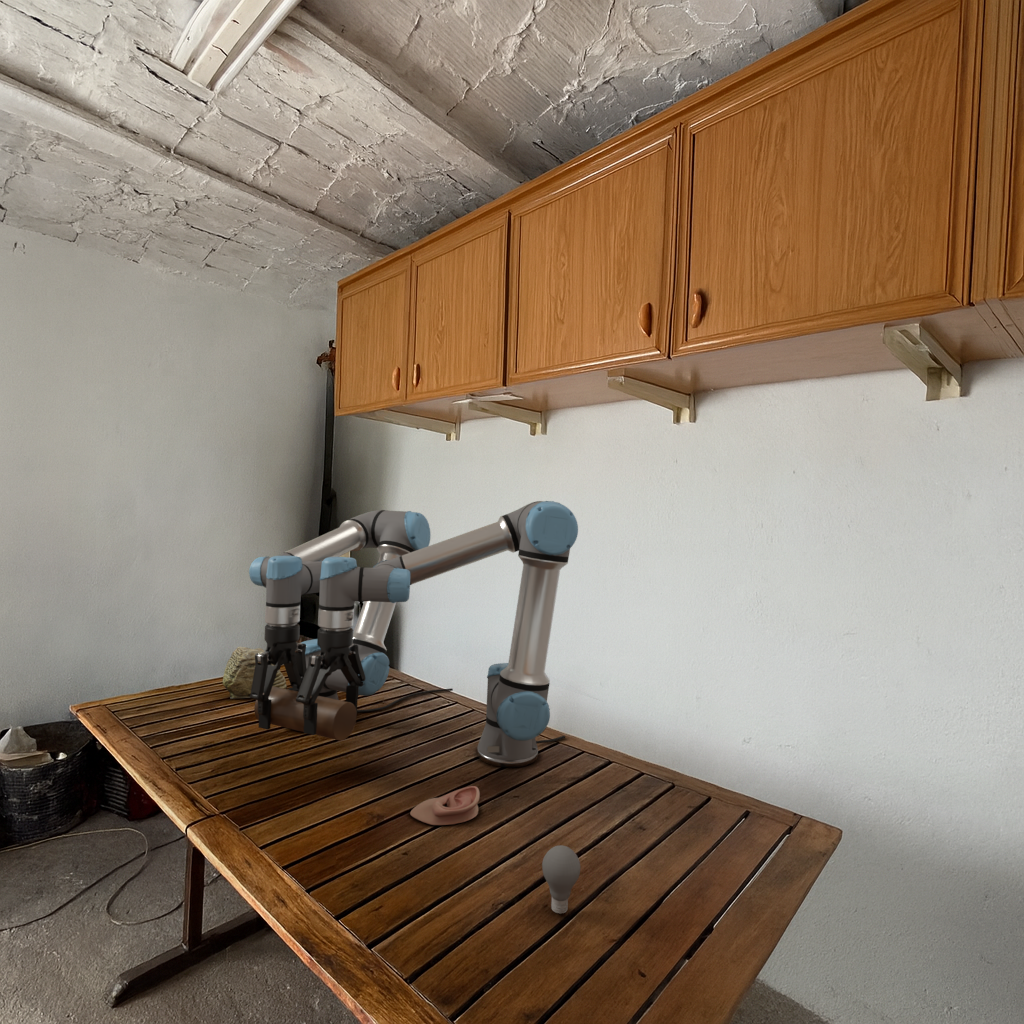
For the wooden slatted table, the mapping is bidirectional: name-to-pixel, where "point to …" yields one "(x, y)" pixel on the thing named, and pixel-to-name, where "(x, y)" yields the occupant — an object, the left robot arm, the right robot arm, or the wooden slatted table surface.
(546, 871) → the light bulb
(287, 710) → the brown wooden cylinder
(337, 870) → the wooden slatted table surface
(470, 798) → the anatomical model
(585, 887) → the wooden slatted table surface
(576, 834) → the wooden slatted table surface
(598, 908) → the wooden slatted table surface
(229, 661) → the fossil
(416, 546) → the left robot arm
